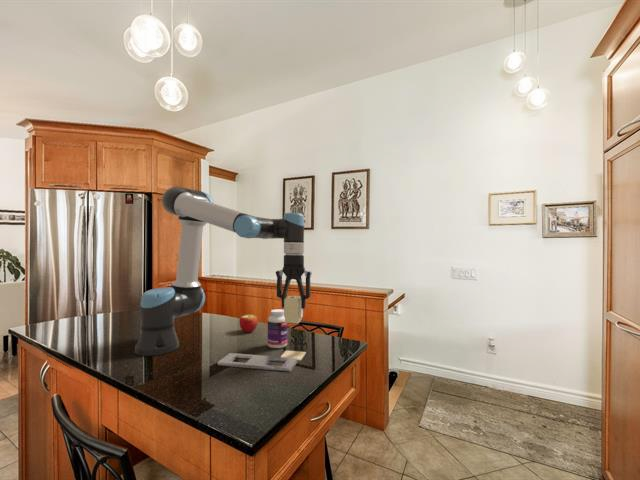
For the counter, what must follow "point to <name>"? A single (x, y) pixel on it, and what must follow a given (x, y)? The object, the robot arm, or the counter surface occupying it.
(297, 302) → the tan block with knob
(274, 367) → the rail
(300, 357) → the coaster
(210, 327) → the counter surface
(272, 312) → the pill bottle
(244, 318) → the apple
